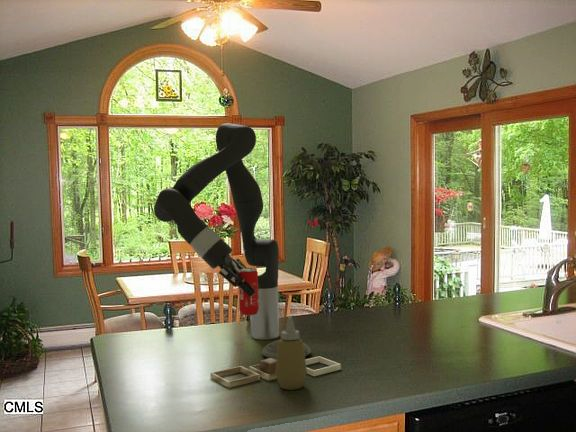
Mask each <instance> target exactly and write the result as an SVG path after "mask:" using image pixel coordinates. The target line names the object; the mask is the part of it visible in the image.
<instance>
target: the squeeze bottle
mask: <svg viewBox="0 0 576 432" xmlns="http://www.w3.org/2000/svg"><path fill="white" fill-rule="evenodd" d="M280 333H281V334H280V335H281V338H279V339H280V340H279V339H278V340H279V341H278V348H277V361H276V376H277V379H276V380H277V381H278V384H279V386H280V389H284V390H287V391H288V390H289V391H294V390H299V389H301V388H303V385H304V384H305V383H304V382H305V379H306V376H307V370H306V367H307V365H306V361H305V360H306V356H305V353H304V345H303V343H304V340H302V339H301V338H300V331H299V330H298V329H296V328H295V323H294V319H293V317H292V316H288V317H287V320H286V325H285V330H282V331H280Z"/></svg>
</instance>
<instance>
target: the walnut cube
mask: <svg viewBox="0 0 576 432" xmlns="http://www.w3.org/2000/svg"><path fill="white" fill-rule="evenodd" d="M276 361H277V359H273V358H268V357H267V358H265V359H262V360H260V361H259V364H260V371H262V372H264V373H267V374H272V373H276Z"/></svg>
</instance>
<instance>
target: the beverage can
mask: <svg viewBox="0 0 576 432" xmlns="http://www.w3.org/2000/svg"><path fill="white" fill-rule="evenodd" d="M240 271H241V273H242V274H241V276H242V277H243V278H244V279H245V282H247V283H249V284H250V285H251V286H252V287H253V288H254V289H255V293H254V294H253V295H252V296H250V297H249V296H248V295H247V294H246V293H245V292H244V291H243V290H242V289H241V288H240V287H238V299H239V300H238V302H239V304H238V305H239V307H238V308H239V312H240V314H241V315H242V316H249V317H250V315H256V314H257V312H258V310H259V301H258V276H259V271H258V269H257V268H255V267H254V268H253V267H248V268H247V267H246V268H244V269H240Z"/></svg>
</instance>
